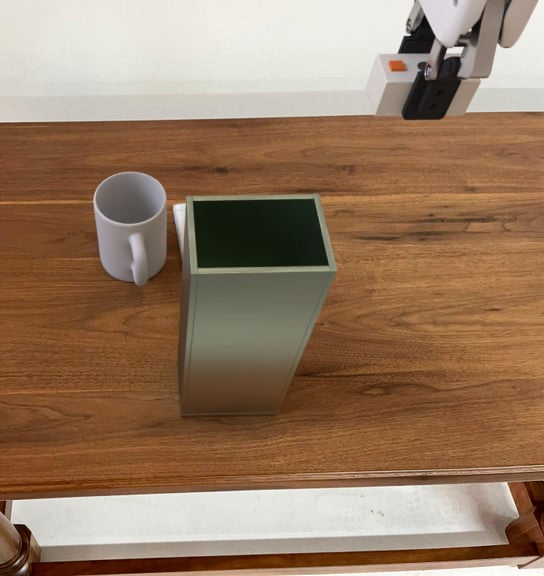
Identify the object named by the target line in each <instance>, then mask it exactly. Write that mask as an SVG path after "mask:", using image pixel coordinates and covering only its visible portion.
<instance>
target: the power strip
mask: <svg viewBox="0 0 544 576" xmlns="http://www.w3.org/2000/svg"><path fill="white" fill-rule="evenodd" d="M461 54H462V52H458V53H455V52H452V53H450V52H449V53H448V52H446V54H445V57H444V59H446V58H449V57H451V56H461ZM429 55H430V54H397V53H377V54H376V55H375V59H374V62H373V65H372V67H371V71H370V73H369V76H368V80H367V82H366V86H365V90H366V95H367V98H368V100H369V101H368V102H369V105H370V108H371V110H372V113H373V117H403V116H402V110H403V107H404V105H405V102H406V100H407V98H408V95H409V93H410V90H411V88H412V85H413V83H414V80H415V78H416V75H417V73H418V71H425V67H426V64H427V61H428V58H429ZM481 83H482V79H481V78H471V79H467V80H462V82H461V84H460V86H459V88H458V90H457V92H456V94H455V96H454V98H453V100H452V103H451V105H450V107H449V109H448V111H447V113H446V115H445V117H464V116H465V114H466V112H467V110H468V108H469V107H470V105H471V103H472V101H473V98H474V97H475V94H476V93H477V91H478V89H479V87H480V85H481Z"/></svg>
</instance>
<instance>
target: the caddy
mask: <svg viewBox="0 0 544 576" xmlns="http://www.w3.org/2000/svg"><path fill="white" fill-rule="evenodd" d="M185 203H186V209H185V227H184V246H183V263H182V267H181V268H182V269H181V284H180V304H179V324H178V342H177V370H178V371H177V372H178V376H177V377H178V395H179V397H178V399H179V417H180V418H203V417H204V418H206V417H207V418H208V417H213V418H214V417H250V416H251V417H253V416H254V417H257V416H278V414H279V411H280V409H281V406H282V404H283V403H284V402H283V401H284V399H285V397H286V394H287V392H288V390H289V388H290V385H291V382H292V380H293V377H294V376H295V373H296V371H297V368H298V366H299V363H300V361H301V358H302V356H303V354H304V352H305V349H306V347H307V345H308V342H309V340H310V337H311V335H312V333H313V330H314V328H315V325H316V323H317V321H318V318H319V315H320V313H321V312H322V308H323V306H324V304H325V301H326V299H327V298H328V294H329V292H330V289H331V288H332V285H333V282H334V280H335V278H336V276H337V273H338V268H337V264H336V259H335V254H334V251H333V246H332V242H331V238H330V234H329V228H328V224H327V221H326V217H325V212H324V208H323V207H324V206H323V204H322V199H321V195H320V193H299V194H297V193H293V194H288V193H287V194H236V195H233V194H232V195H231V194H230V195H228V194H227V195H186V196H185Z"/></svg>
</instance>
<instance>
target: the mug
mask: <svg viewBox="0 0 544 576" xmlns="http://www.w3.org/2000/svg"><path fill="white" fill-rule="evenodd" d="M93 211H94V219H95V226H96V227H95V228H96V233H97V240H98V251H99V258H100V259H99V260H100V263H101V265H102V267H103V269H104V270H105V271H106V273H108V275H110V276H111V277H112V278H115V279H117V280H119V281H123V282H127V283H134V284H135V285H136V286H138V287H144V286H146V285H147V283H148V280H149V279H151V278H152V277H155V276H156V275H158V274H159V272H161V270H162V269H163V267H164V265H165V263H166V261H167V255H168V254H167V249H168V248H167V247H168V246H167V231H168V230H167V229H168V226H167V225H168V224H167V223H168V222H167V220H168V213H167V212H168V198H167V192H166V190H165V188H164V186H163V185H162V184H161V182H159V180H157V179H156V178H154V177H153V176H151V175H149V174H147V173H144V172H138V171H123V172H119V173H116V174H113V175H111V176H108V177H107V178H105V179H104V180H103V181H102V182H100V184H99V185H98V186H97V188H96V189H95V192H94V195H93Z"/></svg>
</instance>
